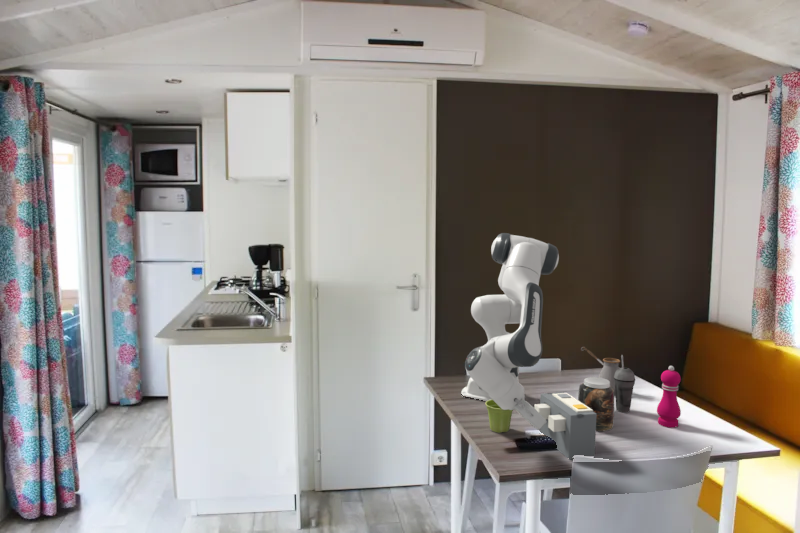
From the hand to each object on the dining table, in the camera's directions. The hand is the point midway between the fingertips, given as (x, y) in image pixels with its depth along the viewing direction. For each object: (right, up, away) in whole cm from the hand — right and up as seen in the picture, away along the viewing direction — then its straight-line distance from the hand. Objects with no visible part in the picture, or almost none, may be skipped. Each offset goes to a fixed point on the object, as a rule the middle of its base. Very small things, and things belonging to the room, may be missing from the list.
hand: (539, 424), depth 175 cm
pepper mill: (+49, -7, +26) cm, 56 cm away
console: (+10, -8, +8) cm, 15 cm away
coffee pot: (+39, -3, +64) cm, 75 cm away
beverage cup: (+39, -5, +39) cm, 55 cm away
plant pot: (-8, -7, +20) cm, 22 cm away
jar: (+24, -7, +25) cm, 36 cm away
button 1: (+4, -1, +11) cm, 12 cm away
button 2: (+6, -2, +1) cm, 6 cm away
